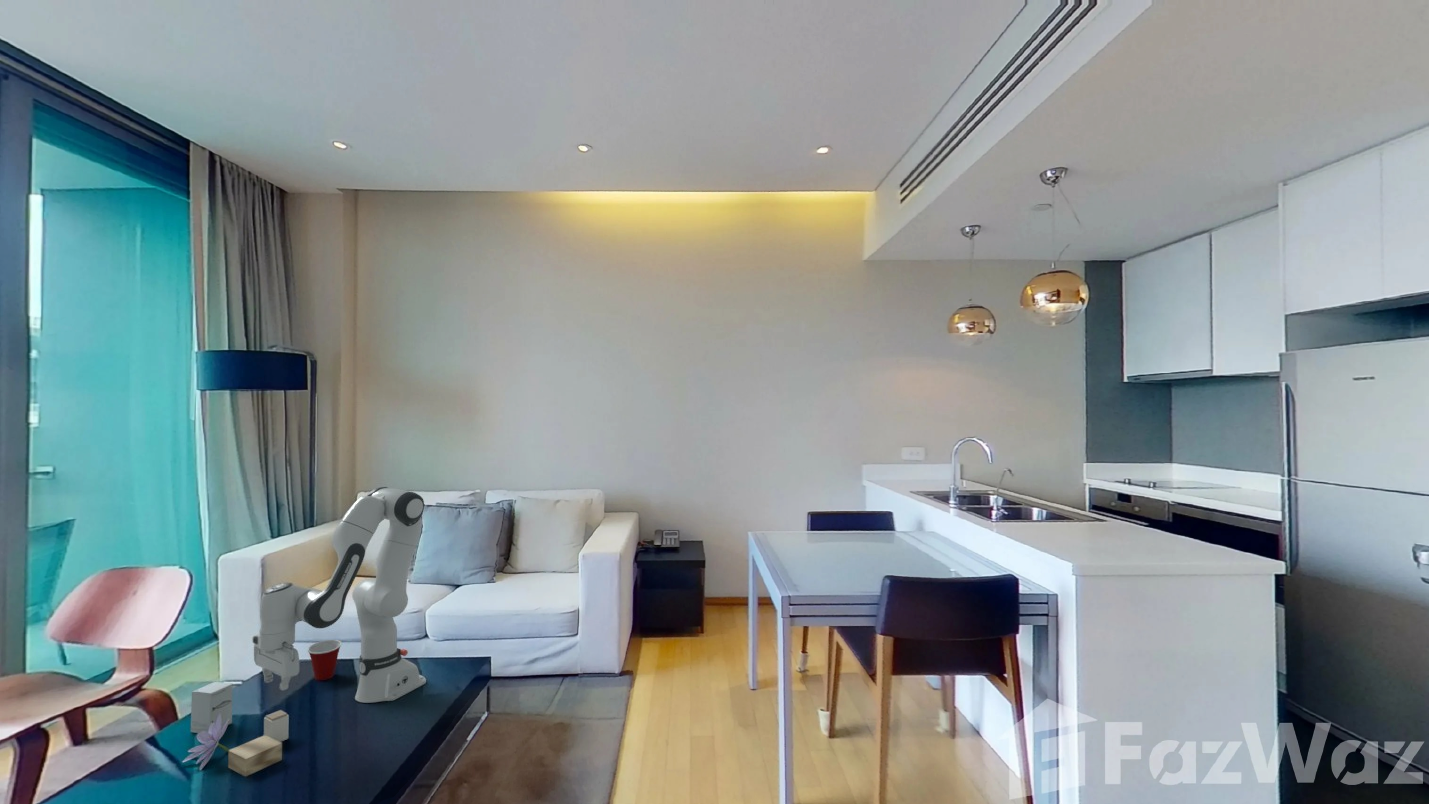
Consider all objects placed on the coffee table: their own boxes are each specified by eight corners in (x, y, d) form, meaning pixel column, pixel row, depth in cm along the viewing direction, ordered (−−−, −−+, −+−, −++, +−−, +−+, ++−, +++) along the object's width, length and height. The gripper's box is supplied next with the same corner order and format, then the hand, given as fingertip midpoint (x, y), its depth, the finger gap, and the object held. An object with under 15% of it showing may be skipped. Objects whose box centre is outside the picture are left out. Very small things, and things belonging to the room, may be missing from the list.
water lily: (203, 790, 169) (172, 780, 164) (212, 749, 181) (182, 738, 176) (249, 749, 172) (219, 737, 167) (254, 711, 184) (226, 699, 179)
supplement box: (209, 735, 185) (210, 693, 186) (189, 732, 187) (190, 691, 187) (233, 723, 193) (233, 682, 193) (214, 720, 194) (214, 680, 194)
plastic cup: (303, 685, 219) (303, 652, 219) (311, 673, 229) (311, 641, 229) (338, 681, 222) (338, 648, 223) (344, 669, 233) (344, 638, 233)
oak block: (264, 752, 177) (264, 734, 177) (281, 760, 172) (282, 742, 172) (228, 768, 169) (228, 750, 169) (245, 777, 164) (245, 758, 164)
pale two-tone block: (280, 734, 186) (281, 709, 186) (288, 738, 184) (288, 713, 184) (263, 741, 182) (264, 715, 182) (271, 745, 180) (271, 719, 180)
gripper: (306, 642, 181) (305, 689, 180) (273, 629, 191) (271, 674, 191) (282, 649, 175) (281, 698, 175) (249, 635, 186) (248, 681, 185)
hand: (276, 685), depth 183 cm, fingers open, 8 cm apart
